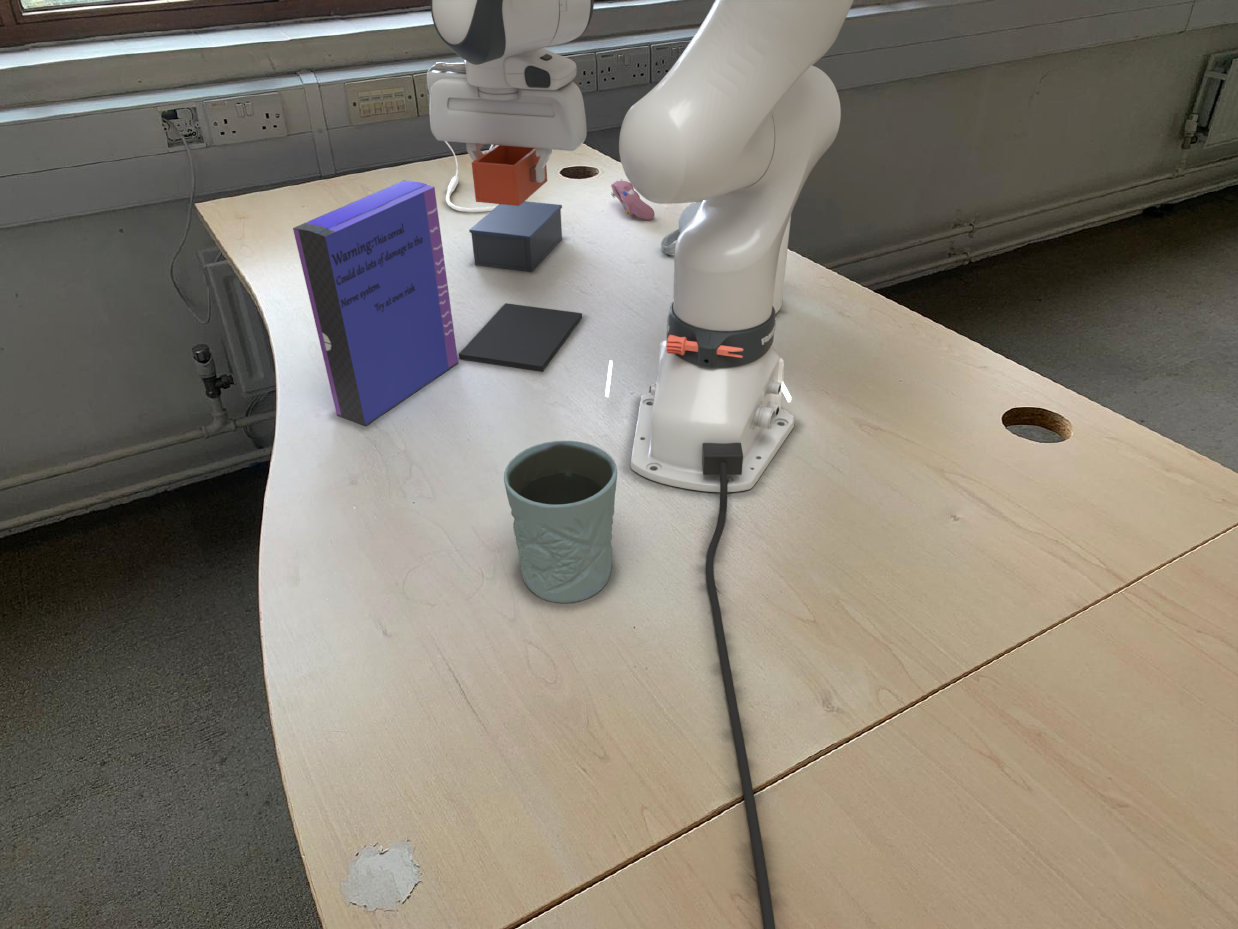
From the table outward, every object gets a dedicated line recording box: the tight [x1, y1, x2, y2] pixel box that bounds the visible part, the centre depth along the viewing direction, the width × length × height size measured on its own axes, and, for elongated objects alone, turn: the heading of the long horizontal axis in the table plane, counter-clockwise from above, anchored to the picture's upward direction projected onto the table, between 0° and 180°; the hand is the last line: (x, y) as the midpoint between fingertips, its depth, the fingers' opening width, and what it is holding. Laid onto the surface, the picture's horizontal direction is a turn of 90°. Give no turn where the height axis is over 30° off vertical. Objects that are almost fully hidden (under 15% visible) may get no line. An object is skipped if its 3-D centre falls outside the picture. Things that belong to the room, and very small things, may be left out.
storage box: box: [468, 200, 563, 273], centre depth 148 cm, size 14×10×6 cm
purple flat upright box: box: [292, 179, 459, 427], centre depth 108 cm, size 17×5×24 cm, turn 149°
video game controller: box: [610, 178, 655, 221], centre depth 162 cm, size 10×5×7 cm, turn 17°
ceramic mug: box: [660, 201, 702, 256], centre depth 147 cm, size 11×8×8 cm
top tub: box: [471, 145, 548, 206], centre depth 117 cm, size 10×6×5 cm, turn 163°
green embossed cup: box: [503, 440, 618, 604], centre depth 83 cm, size 10×10×12 cm
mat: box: [458, 302, 583, 372], centre depth 125 cm, size 16×12×1 cm
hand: (511, 178), depth 117 cm, fingers closed on top tub, 6 cm apart
